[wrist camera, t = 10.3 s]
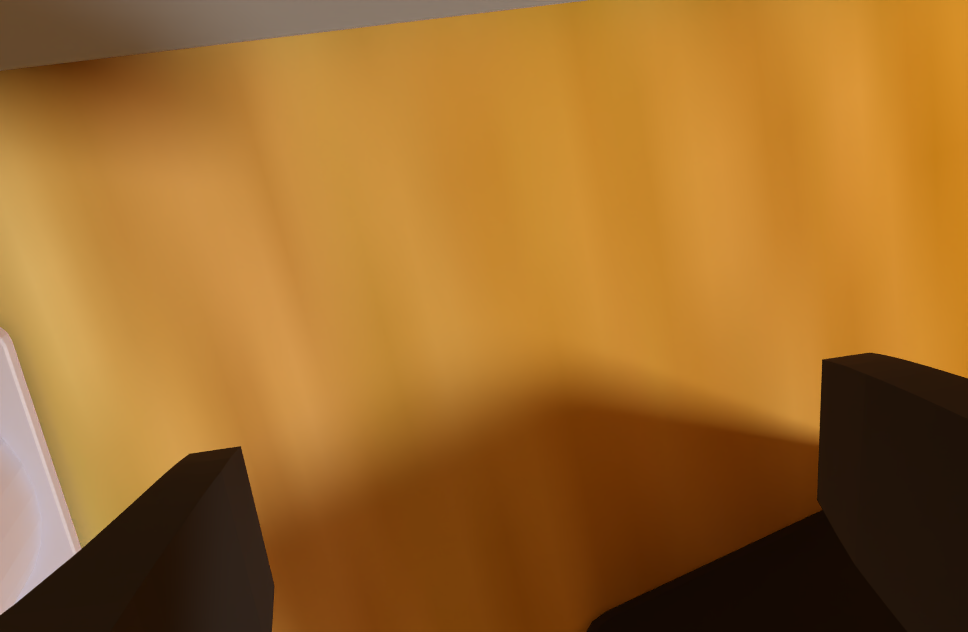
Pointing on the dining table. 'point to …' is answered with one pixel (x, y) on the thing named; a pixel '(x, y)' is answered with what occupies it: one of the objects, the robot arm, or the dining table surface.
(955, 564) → the robot arm
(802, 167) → the dining table surface
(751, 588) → the electronic device
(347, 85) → the dining table surface
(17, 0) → the board
